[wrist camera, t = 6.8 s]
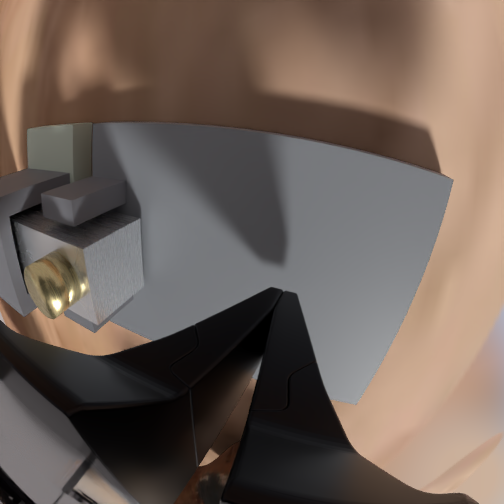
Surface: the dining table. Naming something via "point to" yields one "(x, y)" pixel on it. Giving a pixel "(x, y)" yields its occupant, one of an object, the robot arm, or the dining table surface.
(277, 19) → the dining table surface
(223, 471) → the decorative turtle
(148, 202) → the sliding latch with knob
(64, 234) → the drawer with brass knob
